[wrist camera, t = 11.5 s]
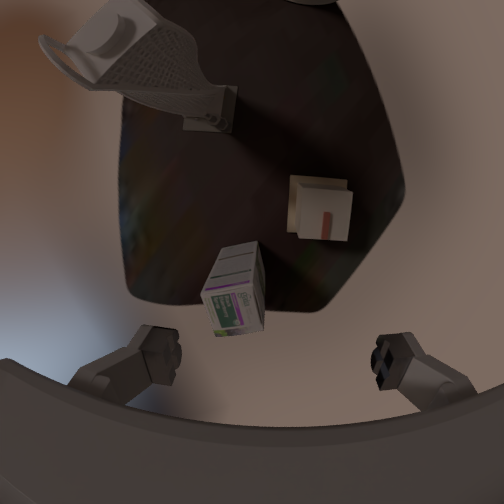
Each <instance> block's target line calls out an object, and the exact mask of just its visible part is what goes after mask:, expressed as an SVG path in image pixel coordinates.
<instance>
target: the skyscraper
mask: <svg viewBox="0 0 504 504" xmlns="http://www.w3.org/2000/svg"><path fill="white" fill-rule="evenodd" d="M38 42H39V45H40V47H41V49H42V51H43V52H44V53H45V55H46V56H47V57H48V59H49V60H50V61H51V62H52V63H53V64H54V65H55V66H56V67H57V68H58V69H59V70H60V71H61V72H62V73H63V74H65V75H66V76H67V77H69V78H70V79H71V80H73V81H74V82H76V83H78V84H79V85H81V86H83V87H84V88H86V89H88V90H89V91H117V92H118V93H120V94H121V95H123V96H125V97H127V98H129V99H131V100H133V101H136V102H138V103H140V104H143V105H146V106H149V107H151V108H155V109H158V110H162V111H166V112H170V113H175V114H181V115H182V116H183V117H184V124H183V130H189V131H208V132H222V133H232V126H233V118H234V111H235V103H236V96H237V89H238V86H226V85H212V84H211V83H210V82H208V81H207V79H206V78H205V77H204V75H203V73H202V71H201V69H200V67H199V64H198V61H197V56H198V50H197V44H196V41H195V39H194V38H193V36H192V35H191V34H190V33H189V32H188V31H186V30H185V29H183V28H182V27H180V26H178V25H176V24H175V23H173V22H171V21H169V20H166V19H164V18H163V17H162V16H161V15H160V14H159V13H158V12H157V11H155V10H154V9H153V8H152V7H151V6H150V5H148V4H147V3H146V2H145V1H144V0H109V1H108V2H107V3H106V4H105V5H104V6H103V7H101V8H100V9H99V10H98V11H97V12H96V13H95V14H94V15H93V16H92V17H91V18H90V19H89V20H88V21H87V22H86V23H85V24H84V25H83V26H82V27H81V28H80V29H79V30H78V31H77V33H76V34H75V35H74V36H73V37H72V38H71V39H70V40H69V42H68V43H67V44H66V45H64V44H62V43H60V42H58V41H56V40H54V39H52V38H50V37H48V36H46V35H41V36H39V37H38ZM49 45H50V46H52V47H54V48H56V49H58V50H60V51H62V52H63V53H64V54H66V55H67V56H68V57H69V58H71V60H72V61H73V62H74V64H75V65H76V66H77V68H78V69H79V71H80V72H81V73H82V75H83V76H84V77H85V78H84V77H82V76H81V75H79V74H78V73H76V72H75V71H74V70H72V69H71V68H70V67H69V66H67V65H66V64H65V63H64V62H63V61H62V60H61V59H60V58H59V57H58V56H57V55H56V54H55V53H54V52H53V50H52V49H51V48H50V47H49Z"/></svg>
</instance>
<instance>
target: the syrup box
mask: <svg viewBox="0 0 504 504" xmlns="http://www.w3.org/2000/svg"><path fill="white" fill-rule="evenodd" d="M201 297H202V300H203V303H204V306H205V309H206V311H207V314H208V317H209V320H210V323H211V326H212V328H213V331H214V334H215V336H216V337H223V336H234V335H241V334H247V333H253V332H257V331H263V329H264V315H265V314H264V313H265V269H264V265H263V261H262V257H261V253H260V248H259V244H258V241H254V242H249V243H244V244H239V245H235V246H230V247H225V248H222V249H221V251H220V253H219V255H218V258H217V260H216V262H215V264H214V266H213V268H212V270H211V272H210V275H209V277H208V279H207V281H206V283H205V285H204V287H203V290H202V292H201Z"/></svg>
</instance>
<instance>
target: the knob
mask: <svg viewBox="0 0 504 504" xmlns="http://www.w3.org/2000/svg"><path fill="white" fill-rule="evenodd" d="M352 197H353V192H352V191H349V190H347V189H345V188H343V187H341V186H334V185H324V184H312V183H300V182H298V183H297V199H296V213H295V228H296V231H297V234H298V237H299V238H306V239H322V240H338V241H347V238H348V231H349V223H350V215H351V206H352Z"/></svg>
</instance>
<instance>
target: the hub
mask: <svg viewBox="0 0 504 504" xmlns="http://www.w3.org/2000/svg"><path fill="white" fill-rule="evenodd" d="M298 182H300V183H312V184H324V185H334V186H341V187H343V188H345V189H347V180H344V179H335V178H324V177H312V176H299V175H290V188H289V206H288V222H287V232H296V233H297V231H296V228H295V213H296V199H297V183H298Z"/></svg>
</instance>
